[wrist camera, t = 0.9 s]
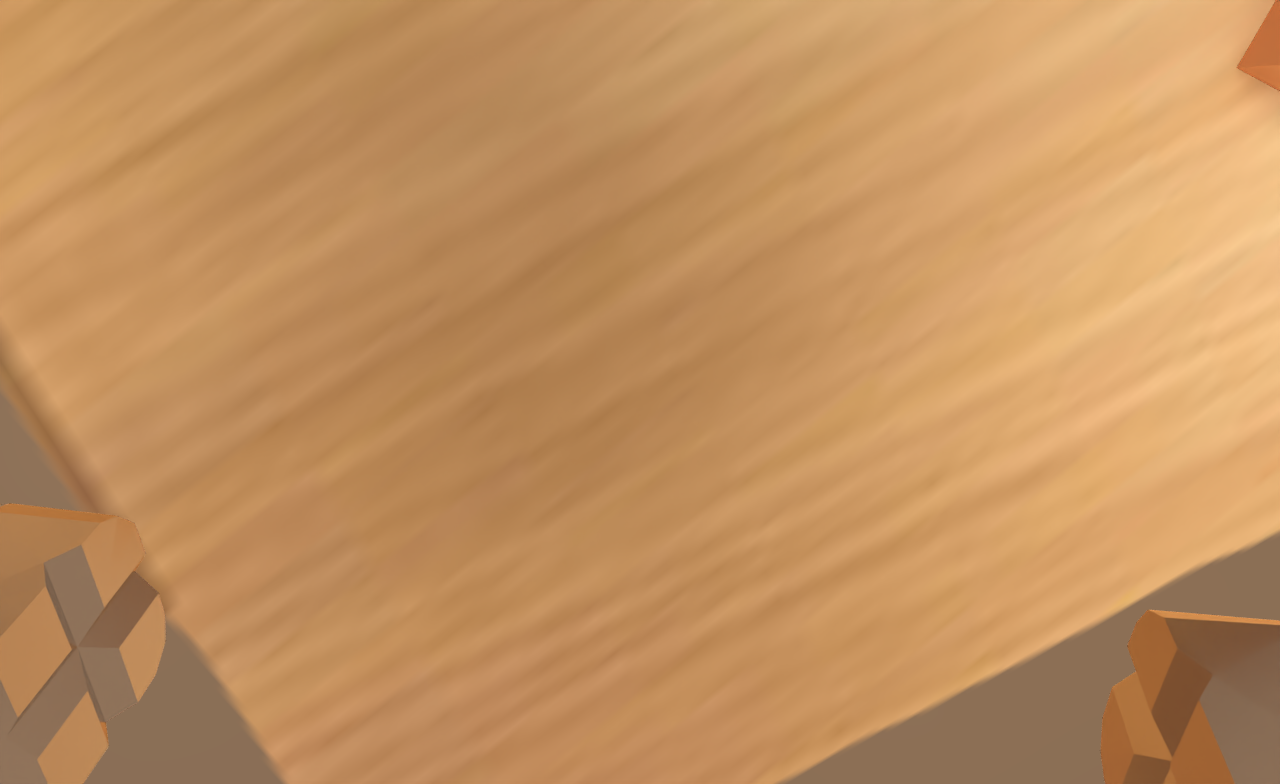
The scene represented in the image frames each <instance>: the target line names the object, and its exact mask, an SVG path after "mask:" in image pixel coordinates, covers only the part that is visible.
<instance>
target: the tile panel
mask: <svg viewBox="0 0 1280 784" xmlns="http://www.w3.org/2000/svg"><path fill="white" fill-rule="evenodd" d="M1237 68H1238V69H1240V70H1242V71H1243V72H1245V73H1247V74H1249V75H1251V76H1253V77H1255V78H1256V79H1258V80H1260V81H1262V82H1264V83H1266V84H1267V85H1269V86H1271V87H1273V88H1275V89H1277V90H1279V91H1280V0H1276V1H1275V3H1274V5H1273V6H1272V8H1271V10H1270V11H1269V13H1268V15H1267V17H1266V18H1265V20H1264V22H1263V24H1262V25H1261V27H1260V29H1259V30H1258V32H1257V34H1256V36H1255V37H1254V39H1253V41H1252V42H1251V44H1250V46H1249V48H1248V49H1247V51H1246V53H1245V54H1244V56H1243V58H1242V60H1241V61H1240V63H1239V65H1238V67H1237Z"/></svg>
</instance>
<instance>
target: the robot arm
mask: <svg viewBox="0 0 1280 784" xmlns="http://www.w3.org/2000/svg"><path fill="white" fill-rule="evenodd" d="M145 554H146V552H145V549H144V547H143V544H142V541H141V539H140V536H139V533H138V531H137V528H136V525H135V523H134V522H131V521H129V520H126V519H124V518H122V517H119V516H115V515H106V514H98V513H89V512H80V511H72V510H63V509H55V508H46V507H37V506H29V505H20V504H11V503H9V504H7V505H6V504H0V784H83V783H84V782H85V780H86V779H87V778H88V776H89V775H90V773H91V772H92V770H93V769H94V767H95V766H96V764H97V763H98V761H99V760H100V758H101V757H102V755H103V754H104V752H105V751H106V749H107V748H108V746H109V745H108V737H107V728H106V722H107V721H109V720H110V719H112V718H113V717H115V716H117V715H118V714H120V713H121V712H123V711H125V710H126V709H128V708H130V707H131V706H133V705H135V704H136V703H138V702H139V700H140V698H141V697H142V695H143V694H144V692H145V691H146V689H147V688H148V686H149V684H150V683H151V681H152V680H153V678H154V676H155V675H156V672H157V668H158V665H159V662H160V658H161V655H162V652H163V648H164V645H165V642H166V637H165V635H166V633H165V613H164V609H163V606H162V603H161V599H160V596H159V593H158V592H157V591H156V590H155V589H154V588H153V587H152V586H150V585H149V584H148V583H147V582H146V581H145V580H144V579H143V578H142V577H141V576H140V575H139V574H137V573H136V572H135V571H136V569H137V568H138V566H139V564H140V563H141V561H142V559H143V558H144V556H145ZM1127 647H1128V650H1129V653H1130V656H1131V658H1132V661H1133V664H1134V667H1135V670H1136V672H1134V673H1133V674H1131V675H1130V676H1128V677H1127V678H1125V679H1124V680H1122V681H1120V682H1119V683H1118V684H1116V685H1114V686H1113V687H1112V689H1111V693H1110V696H1109V699H1108V702H1107V705H1106V708H1105V711H1104V715H1103V718H1102V719H1103V720H1102V735H1101V759H1102V766H1103V774H1104V780H1105V784H1280V621H1277V620H1265V619H1254V618H1242V617H1230V616H1217V615H1205V614H1194V613H1182V612H1170V611H1157V610H1147V611H1146V612H1145V614H1144V615H1143V616H1142V617H1141V618H1140V619H1139V620H1138V621H1137V622H1136V625H1135V627H1134V630H1133V632H1132V635H1131V638H1130V640H1129V643H1128V645H1127Z"/></svg>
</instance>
